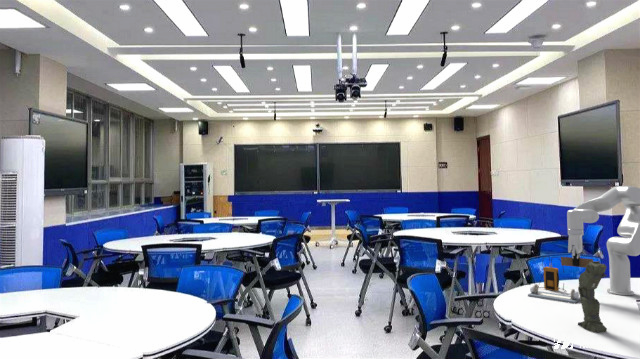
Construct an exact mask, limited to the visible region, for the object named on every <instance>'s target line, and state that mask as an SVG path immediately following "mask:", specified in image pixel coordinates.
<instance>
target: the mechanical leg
mask: <svg viewBox="0 0 640 359" xmlns="http://www.w3.org/2000/svg"><path fill="white" fill-rule="evenodd" d="M607 268H608V267H607V265H606V263H605V264H604V263H601V261H600V260H598V261H594V260H593V262H590V263H588V265H587V266H586V268H585V270H584V271H583V272H582V273H580V275H579V277H578V287H577V290H578V291H577V292H579V297H580V299H581V300H580V304H581V308H582V313H583V321H580V322H578V323H577V326H579V327H581V328H583V329H586V330H587V331H590V332H593V333H594V332H596V333H607V329H608V328H607V327H606V326H605V325H604V323H603V322H602V321H601V320H602V319H601V318H600V317H601V316H600V310H601V308H600V307H601V306H600V305H601V304H600V301H599V300H598V299H597V298H596V297H595V290H596V289H598V286H599V284H600V282H601V280H602V279H603V278H606V277H607V274H606V270H607Z"/></svg>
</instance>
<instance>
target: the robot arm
mask: <svg viewBox="0 0 640 359" xmlns="http://www.w3.org/2000/svg"><path fill="white" fill-rule="evenodd" d="M620 203H622V204H623V207H624V214H623V216H622V219H621V220H620V223H619V225H618V227H617V230H616V231H617V234H618V235H619V236H612V237H609V238H608V239H607V241H606V249H607V253H608V262H609V264H608V265H609V288H607V289H606V292H607V293H609V294H612V295H618V296H634V295H635V292H634V291H633V290H631V261H630V259H629V256H631V257H637V256H639V255H640V187H638V186H634V185H618V186H614V187H611V188H610V189H609V190H607V191H606V192H604V193H603V194H602V195H600V196H599V197H595V198H594V199H590V200H588V201H585V202H582V203H581V204H579V205H577V206H575V208H573V209H569V210H567V212H566V220H567V222H566V223H567V224H566V225H567V235H568V240H567V241H568V245H567V252H568V253H570V254H571V256H572V261H573V266H572V267H574V266H579V258H581V253H582V252H583V236H584V235H585V234H584V223H585V224H586V223H587V224H593V223H597V221H599V218H600V215H599V213H600V212H607V211H610V210H611V209H613V208H614V207H616V206H617V205H619V204H620Z"/></svg>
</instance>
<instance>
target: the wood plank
mask: <svg viewBox="0 0 640 359" xmlns="http://www.w3.org/2000/svg"><path fill="white" fill-rule="evenodd" d="M593 261H594V259H593V258H584V257H580V258H579V266H573V261H572V257H569V256H560V264H561V266H562V265H563V266H562V267H564V266H566V267H577V268H583V269H586V266H587V265H588V263H590V262H593Z"/></svg>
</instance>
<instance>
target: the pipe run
mask: <svg viewBox="0 0 640 359" xmlns="http://www.w3.org/2000/svg"><path fill="white" fill-rule="evenodd" d="M538 286H539V284H537V283H534V285H532V284H531V285H530V286H529V287H530V293H528V294H527V297H531V298H537V299H543V300H551V301H557V302H563V303H568V302H569V304H574V303H575V304H576V302H577V303H578V302H579V301H581V300H580V295H579V291H575V289H574V288H572V289H570V295H567V294H560V293H553V292H546V291H540V290H539V288H538Z"/></svg>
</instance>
